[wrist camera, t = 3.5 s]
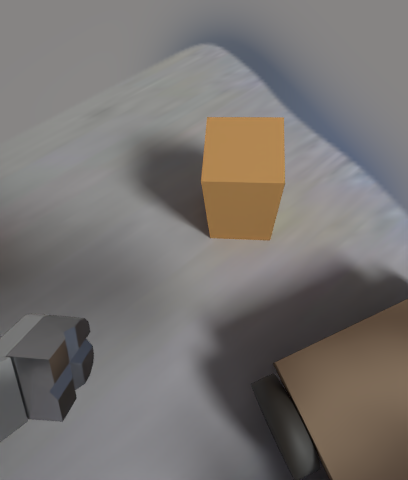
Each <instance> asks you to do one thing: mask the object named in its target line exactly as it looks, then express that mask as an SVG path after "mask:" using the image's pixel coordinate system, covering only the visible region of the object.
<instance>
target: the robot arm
mask: <svg viewBox="0 0 408 480" xmlns="http://www.w3.org/2000/svg"><path fill="white" fill-rule="evenodd" d="M89 333H90V327H89V322H88V321H87V320H86V319H85V318H77V317H67V316H57V315H45V314H32V313H31V314H27V315H25V316H24V317H23V318H22V319H21V320H19V321H18V322H17V323H16V324H15V325H14V326H13V327H12V328H11V329H10V330H9V331H8V332H7V333H6V334H5V335H3V336H2V337H1V338H0V442H1V441H3V440H4V439H5V438H7V437H8V436H9V435H10V434H12V433H13V432H14V431H16V430H17V429H18V428H20V427H21V426H22V425H23V424H25V423H26V422H27V421H28V419H35V420H47V421H60V422H63V420H64V419H65V417H66V415H67V414H68V412H69V410H70V408H71V407H72V405H73V403H74V402H75V400H76V392H75V390H76V389H77V388H79V387H81V386H82V385H84V384H85V383H86V381H87V379H88V377H89V375H90V373H91V369H92V366H93V359H94V352H93V346H92V345H91V344H90V342H89V341H88V340H87V339H86V338H87V336H88V335H89Z"/></svg>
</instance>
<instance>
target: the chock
mask: <svg viewBox="0 0 408 480" xmlns="http://www.w3.org/2000/svg"><path fill="white" fill-rule="evenodd" d="M201 184H202V190H203V197H204V203H205V209H206V215H207V221H208V227H209V234H210V238H223V239H248V240H270V239H271V235H272V231H273V227H274V223H275V219H276V216H277V212H278V208H279V204H280V200H281V196H282V193H283V189H284V185H285V158H284V118H271V117H207V125H206V135H205V146H204V156H203V166H202V177H201Z"/></svg>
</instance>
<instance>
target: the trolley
mask: <svg viewBox="0 0 408 480" xmlns="http://www.w3.org/2000/svg"><path fill="white" fill-rule="evenodd" d="M273 364H274V366H275V368H276V370H277V372H278V375H279V377H280V379H281V381H282V383H283V385H284V387H285V389H286V391H287V392H286V391H285V389H284V387H283V386H282V384H281V383H280V381H279V380H278V378H277V377H276V376H275V375H274V374H271V375H269V376H267V377H265V378H263V379H260V380H258V381H256V382H254V383H252V384H251V386H252V389H253V391H254V394H255V396H256V399H257V401H258V404H259V406H260V408H261V411H262V413H263V415H264V417H265V420H266V422H267V424H268V426H269V428H270V431H271V433H272V435H273V437H274V439H275V442H276V444H277V446H278V448H279V450H280V452H281V454H282V456H283V458H284V460H285V462H286V465H287V467H288V469H289V470H290V472H291V474H292V476H293V478H294V480H299V479H301V478H303V477H305V476H307V475H309V474H311V473H313V472H315V471H317V470H319V469H320V468H321V466H320V462H319V459H318V456H319V458H320V460H321V462H322V464H323V466H324V468H325V470H326V472H327V474H328V477H329V479H330V480H408V299H406V300H404V301H402V302H400V303H398V304H396V305H394V306H392V307H390V308H387V309H385V310H383V311H381V312H379V313H377V314H375V315H373V316H371V317H369V318H367V319H364V320H362V321H360V322H358V323H356V324H354V325H352V326H350V327H348V328H346V329H344V330H341V331H339V332H337V333H335V334H333V335H331V336H329V337H327V338H325V339H323V340H321V341H318V342H316V343H314V344H312V345H310V346H308V347H306V348H304V349H302V350H300V351H298V352H295V353H293V354H291V355H289V356H287V357H285V358H283V359H281V360H279V361H277V362H275V363H273ZM287 393H288V394H287ZM288 395H289V396H288ZM289 397H290V398H289ZM290 399H291V400H290ZM314 448H315V449H314ZM315 450H316V451H315ZM316 452H317V454H318V456H317V454H316Z"/></svg>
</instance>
